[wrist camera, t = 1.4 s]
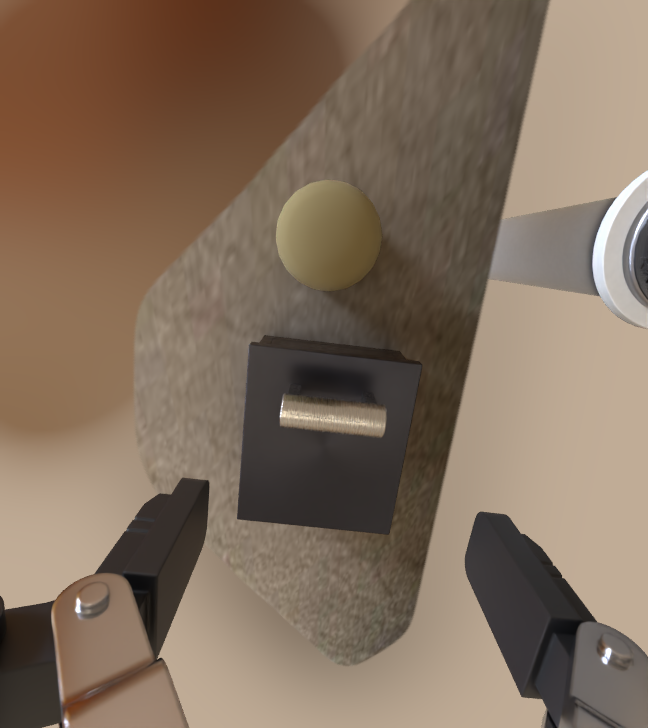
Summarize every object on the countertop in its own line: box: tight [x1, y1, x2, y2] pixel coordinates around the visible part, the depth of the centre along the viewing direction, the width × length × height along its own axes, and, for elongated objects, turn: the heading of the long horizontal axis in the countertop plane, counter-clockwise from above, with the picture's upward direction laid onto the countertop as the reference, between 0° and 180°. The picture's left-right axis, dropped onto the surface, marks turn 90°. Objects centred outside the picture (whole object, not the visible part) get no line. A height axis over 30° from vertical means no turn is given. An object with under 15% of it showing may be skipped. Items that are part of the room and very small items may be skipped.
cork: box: [276, 179, 382, 292], centre depth 23 cm, size 6×6×11 cm
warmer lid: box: [237, 342, 422, 535], centre depth 24 cm, size 12×11×5 cm
